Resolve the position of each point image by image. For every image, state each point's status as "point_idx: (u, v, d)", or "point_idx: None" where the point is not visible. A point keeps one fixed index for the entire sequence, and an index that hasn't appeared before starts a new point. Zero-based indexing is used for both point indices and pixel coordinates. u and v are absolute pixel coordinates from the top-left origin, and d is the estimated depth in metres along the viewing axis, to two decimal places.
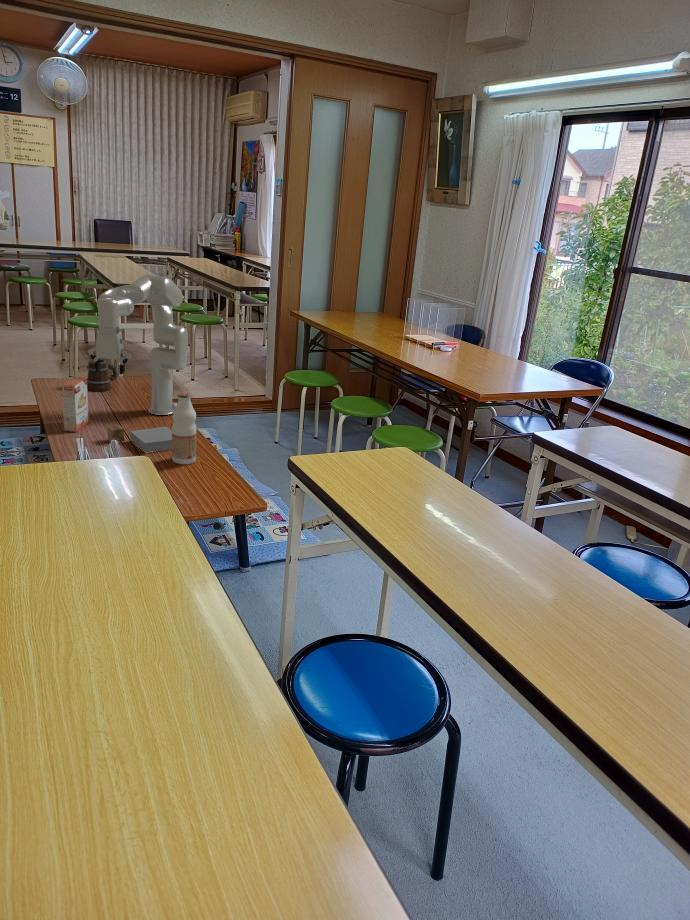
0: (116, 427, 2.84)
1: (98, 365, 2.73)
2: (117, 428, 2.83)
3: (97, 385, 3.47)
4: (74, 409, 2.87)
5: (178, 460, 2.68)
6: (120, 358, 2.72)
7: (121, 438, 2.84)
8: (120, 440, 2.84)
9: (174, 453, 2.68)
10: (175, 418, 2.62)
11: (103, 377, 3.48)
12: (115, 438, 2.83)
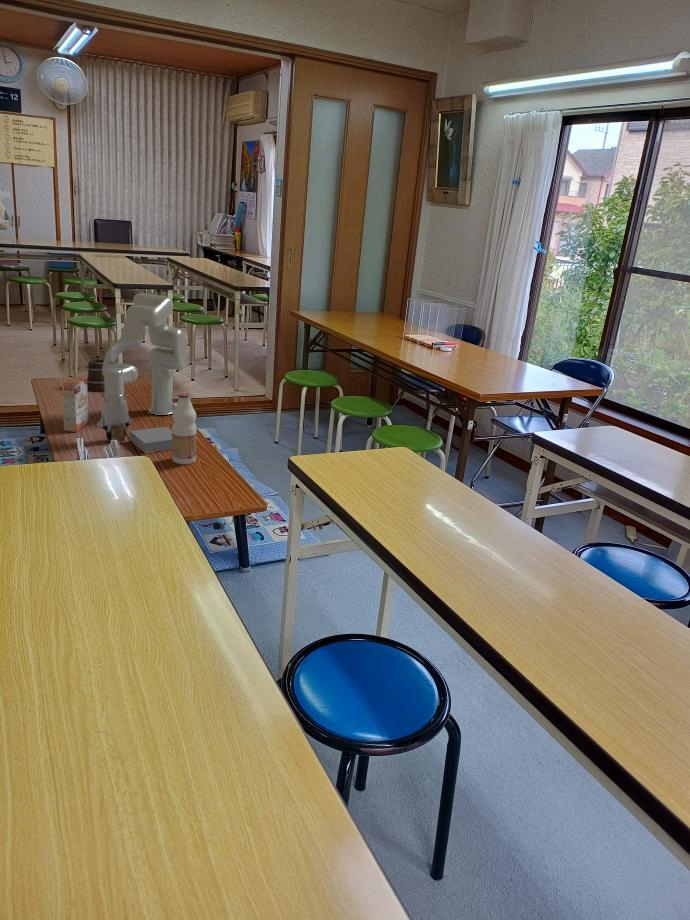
0: (116, 427, 2.84)
1: None
2: (117, 428, 2.83)
3: (97, 385, 3.47)
4: (74, 409, 2.87)
5: (178, 460, 2.68)
6: None
7: (121, 438, 2.84)
8: (120, 440, 2.84)
9: (174, 453, 2.68)
10: (175, 418, 2.62)
11: (103, 377, 3.48)
12: (115, 438, 2.83)
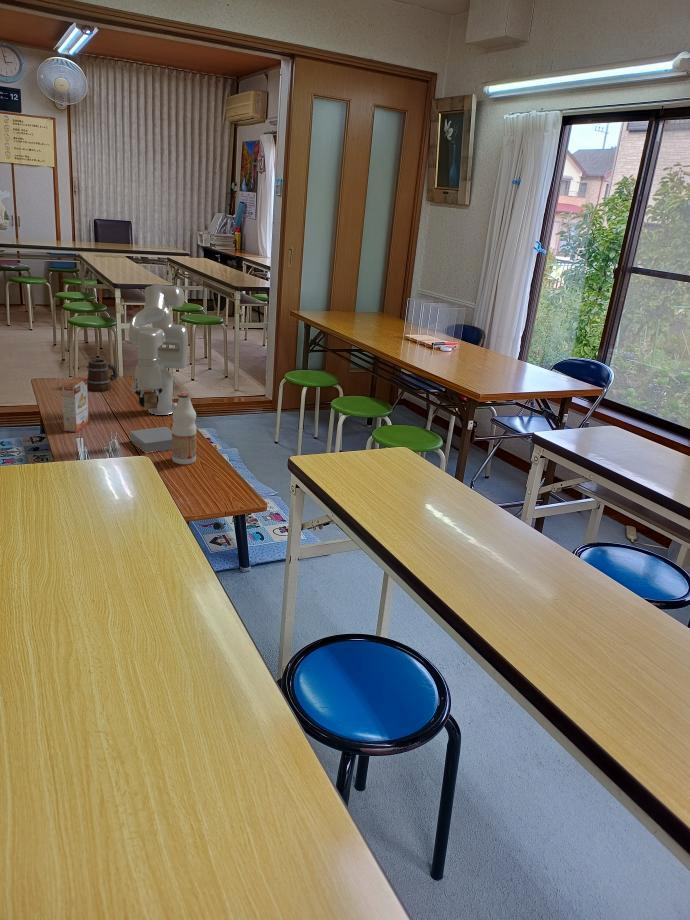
0: (149, 393, 2.78)
1: None
2: (150, 394, 2.77)
3: (97, 385, 3.47)
4: (74, 409, 2.87)
5: (178, 460, 2.68)
6: None
7: (154, 404, 2.78)
8: (153, 406, 2.78)
9: (174, 453, 2.68)
10: (175, 418, 2.62)
11: (103, 377, 3.48)
12: (148, 404, 2.77)
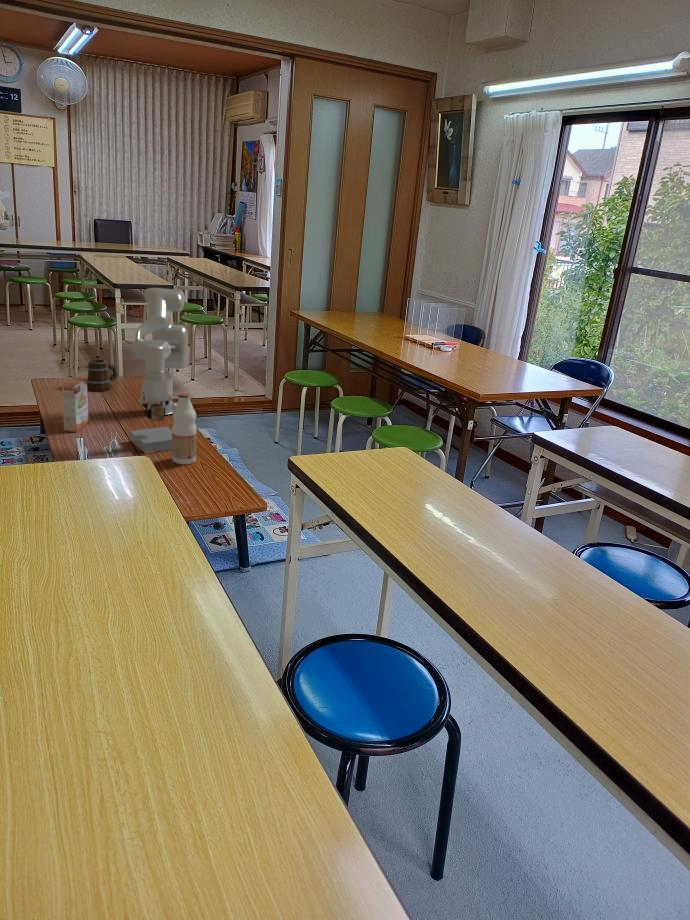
0: (156, 405, 2.79)
1: None
2: (157, 406, 2.78)
3: (97, 385, 3.47)
4: (74, 409, 2.87)
5: (178, 460, 2.68)
6: None
7: (161, 416, 2.80)
8: (160, 418, 2.80)
9: (174, 453, 2.68)
10: (175, 418, 2.62)
11: (103, 377, 3.48)
12: (155, 416, 2.78)
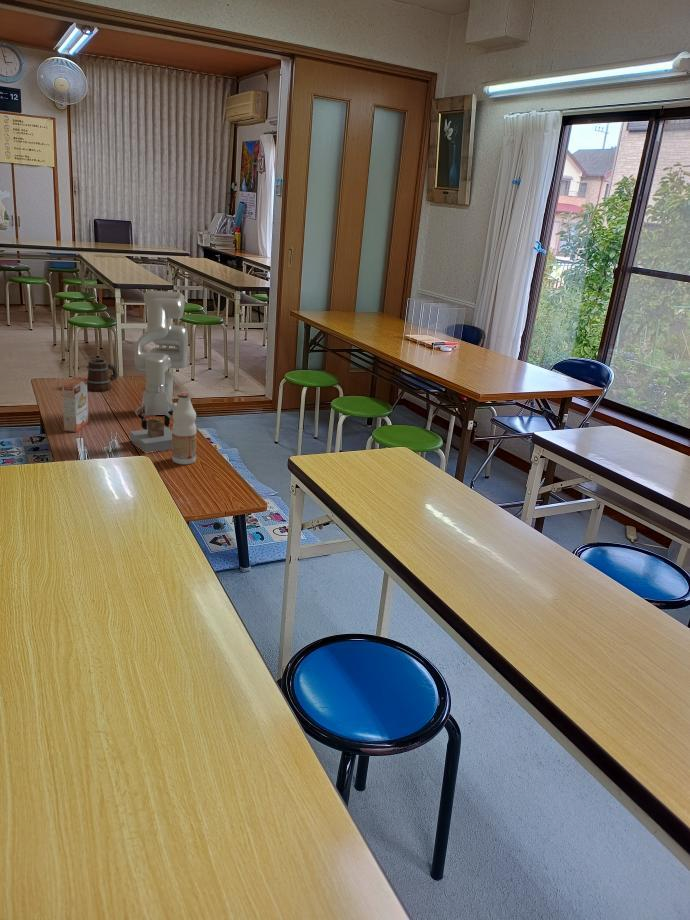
0: (156, 421, 2.82)
1: None
2: (157, 422, 2.81)
3: (97, 385, 3.47)
4: (74, 409, 2.87)
5: (178, 460, 2.68)
6: None
7: (161, 431, 2.82)
8: (160, 434, 2.83)
9: (174, 453, 2.68)
10: (175, 418, 2.62)
11: (103, 377, 3.48)
12: (155, 432, 2.81)
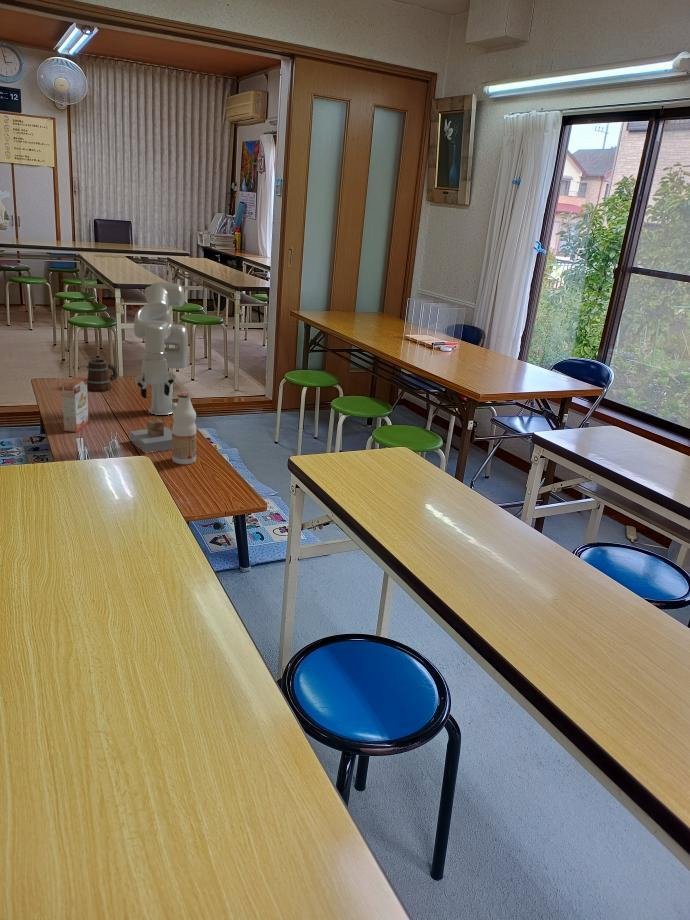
0: (156, 421, 2.82)
1: None
2: (157, 422, 2.81)
3: (97, 385, 3.47)
4: (74, 409, 2.87)
5: (178, 460, 2.68)
6: None
7: (161, 431, 2.82)
8: (160, 434, 2.83)
9: (174, 453, 2.68)
10: (175, 418, 2.62)
11: (103, 377, 3.48)
12: (155, 432, 2.81)
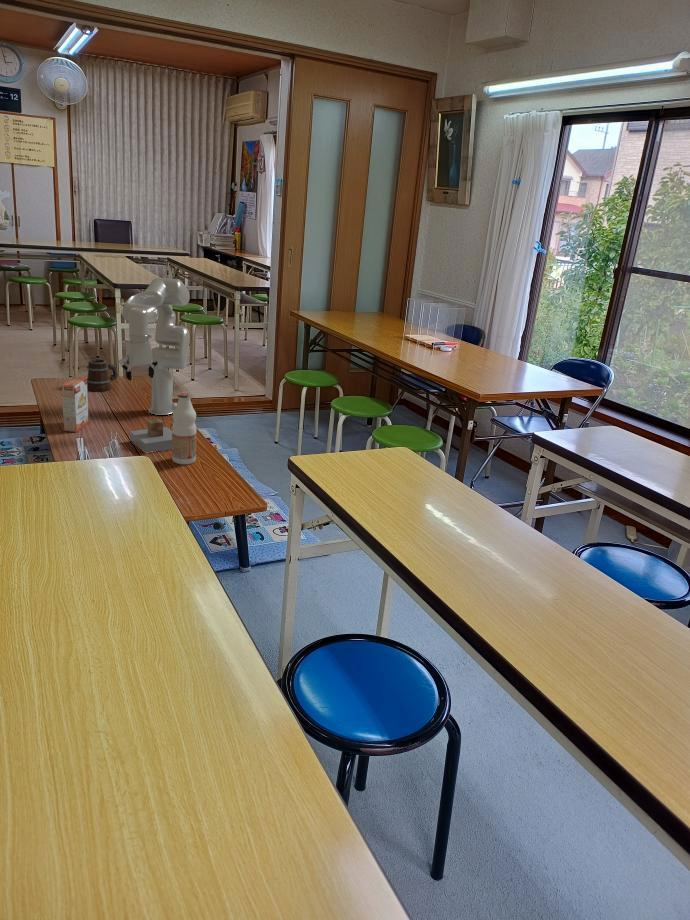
0: (156, 421, 2.82)
1: None
2: (157, 421, 2.81)
3: (97, 385, 3.47)
4: (74, 409, 2.87)
5: (178, 460, 2.68)
6: None
7: (160, 431, 2.82)
8: (159, 434, 2.83)
9: (174, 453, 2.68)
10: (175, 418, 2.62)
11: (103, 377, 3.48)
12: (154, 431, 2.81)
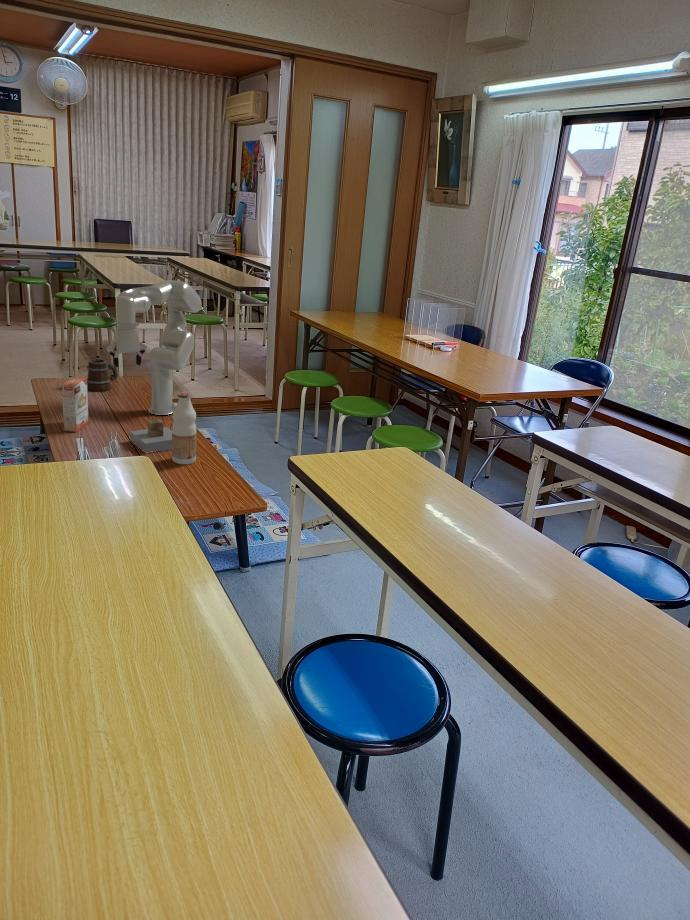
0: (156, 421, 2.82)
1: None
2: (157, 422, 2.81)
3: (97, 385, 3.47)
4: (74, 409, 2.87)
5: (178, 460, 2.68)
6: None
7: (160, 432, 2.82)
8: (159, 434, 2.82)
9: (174, 453, 2.68)
10: (175, 418, 2.62)
11: (103, 377, 3.48)
12: (154, 432, 2.81)
